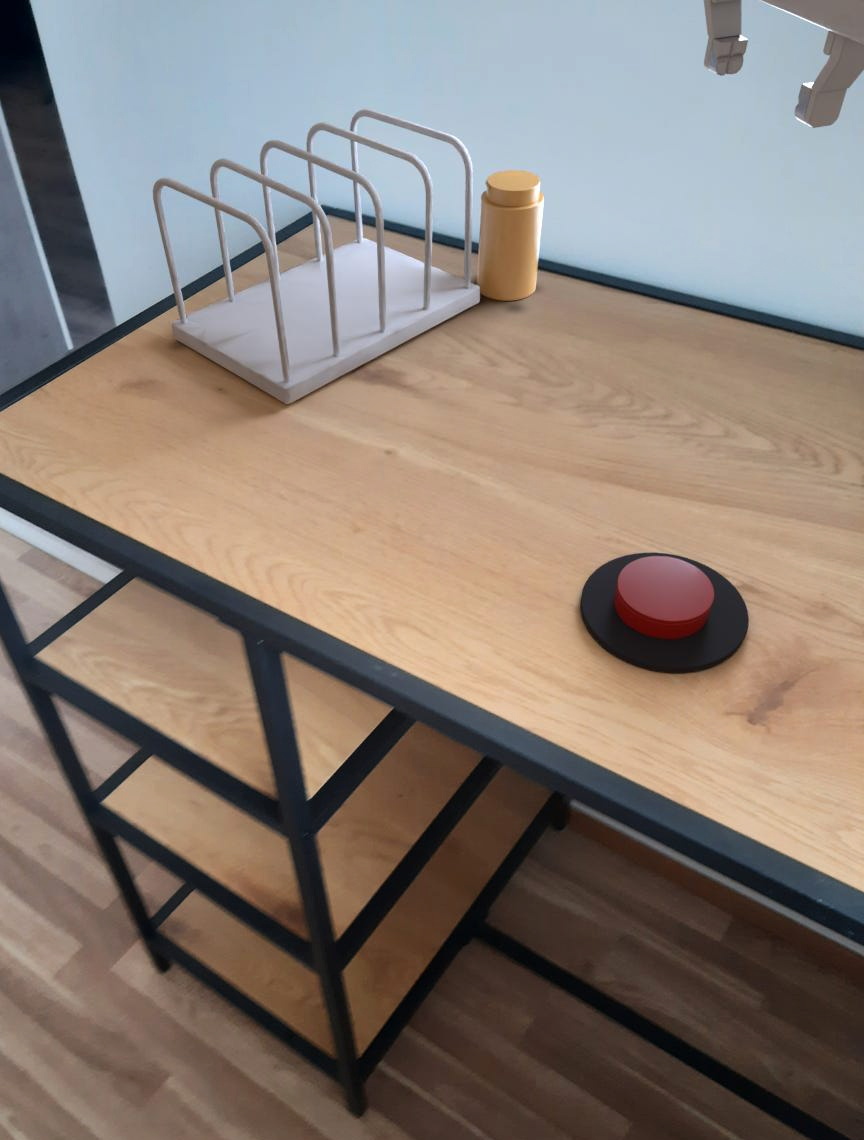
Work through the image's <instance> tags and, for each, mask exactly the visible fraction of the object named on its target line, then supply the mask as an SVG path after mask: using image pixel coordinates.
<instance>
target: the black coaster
mask: <svg viewBox="0 0 864 1140" xmlns="http://www.w3.org/2000/svg"><path fill="white" fill-rule="evenodd" d="M650 556H666V557H672V558H676V559H680V560H683V561H685V562H688V563H690V564H692V565H694V566H695V567H697V568H698V569H700V570H701V571H702V572H703V573H704V574H705V575H706V576H707V577H708V578H709V580H710V581H711V583H712V585H713V588H714V600H713V603H712V607H711V610H710V613H709V616H708V619H707V621H706V623H705V625H704V626H703V627H702V628H701V629H700V630H699V631H697V632H695V633H694V634H692V635H689V636H686V637H683V638H677V639H661V638H655V637H651V636H647V635H645V634H642V633H640V632H638V631H636V630H634V629H632V628H631V627H629V626H628V625H627V624H626V623H625V622H624V621H623V620H622V619H621V618H620V617H619V615H618V613H617V612H616V609H615V606H614V595H615V591H616V586H617V581H618V577H619V574H620V573H621V571H622V570H623V569H624V567H625V566H627V565H628V564H629V563H631V562H633V561H635V560H637V559H640V558H644V557H650ZM579 601H580V603H579V610H580V616H581V619H582V622H583V625H584V626H585V628H586V630H587V632H588V633H589V634H590V636H591V637H592V638H593V640H595V642H596V643H597V644H598V645H599V646H600V647H602V648H603V649H604V650H605V651H607V652H608V653H609V654H611V655H612V656H614V657H615V658H617V659H619V660H621V661H623V662H625V663H627V664H630V665H632V666H635V667H637V668H640V669H643V670H646V671H652V672H657V673H663V674H690V673H691V674H692V673H697V672H703V671H705V670H709V669H712V668H714V667H716V666H719V665H721V664H723V663H725V662H726V661H727V660H729V659H730V658H731V657H733V656H734V655H735V654H736V653H737V652H738V651H739V649H740V648H741V646H742V645H743V643H744V641H745V639H746V636H747V633H748V630H749V621H750V618H749V610H748V608H747V604H746V602H745V600H744V598H743V596H742V595H741V593H740V591H739V590H738V589H737V588H736V587H735V585H734V584H733V583H731V581H730V580H729V579H727V578H726V577H725V576H724V575H723V574H721V573H719V572H718V571H716V569H713V568H711V567H709V566H708V565H706V564H704V563H701V562H700V561H698V560H694V559H691V558H688V557H685V556H681V555H678V554H671V553H666V552H665V553H664V552H635V553H631V554H625V555H622V556H619V557H616V558H614V559H611V560H608V561H607V562H606V563H604V564H601V565H600V566H599V567H597V569H595V570H594V571H593V572H592V573H591V574H590V575H589V577H588V578H587V580H586V581H585V582H584V585H583V588H582V590H581V594H580V600H579Z"/></svg>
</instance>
